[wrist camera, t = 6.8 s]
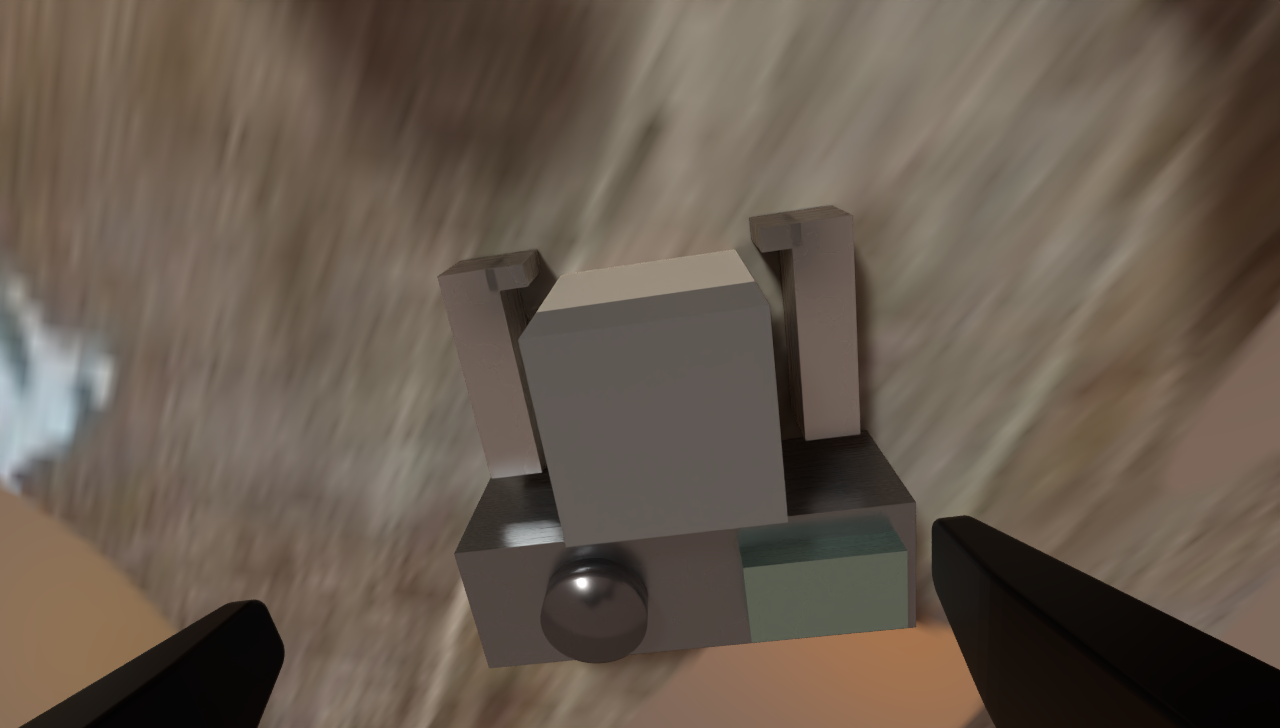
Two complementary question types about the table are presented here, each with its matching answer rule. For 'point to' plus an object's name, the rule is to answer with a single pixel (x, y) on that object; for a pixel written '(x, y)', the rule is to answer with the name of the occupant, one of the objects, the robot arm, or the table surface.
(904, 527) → the knobbed block assembly
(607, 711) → the table surface
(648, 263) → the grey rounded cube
